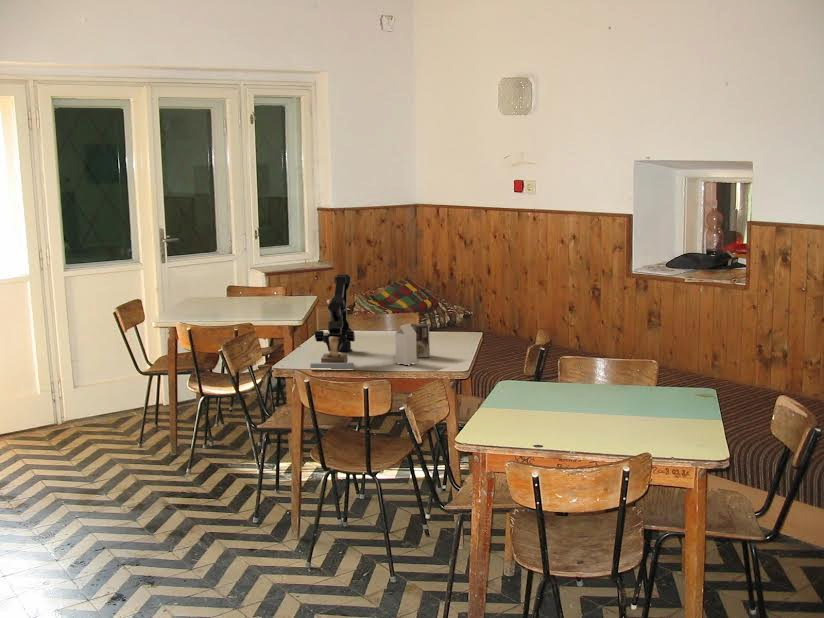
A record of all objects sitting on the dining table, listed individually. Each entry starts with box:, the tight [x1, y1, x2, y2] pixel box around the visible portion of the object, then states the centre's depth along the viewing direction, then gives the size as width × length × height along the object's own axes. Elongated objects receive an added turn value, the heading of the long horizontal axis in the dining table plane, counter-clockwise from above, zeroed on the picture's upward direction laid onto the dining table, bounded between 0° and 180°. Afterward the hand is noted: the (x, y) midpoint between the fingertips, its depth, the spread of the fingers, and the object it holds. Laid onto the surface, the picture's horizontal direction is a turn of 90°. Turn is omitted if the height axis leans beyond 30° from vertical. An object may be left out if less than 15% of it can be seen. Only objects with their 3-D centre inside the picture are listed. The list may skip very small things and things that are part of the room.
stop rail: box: [309, 362, 355, 370], centre depth 445 cm, size 2×20×4 cm, turn 87°
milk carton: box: [394, 323, 418, 366], centre depth 454 cm, size 7×7×19 cm
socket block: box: [320, 352, 349, 363], centre depth 453 cm, size 11×11×5 cm
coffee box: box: [410, 323, 431, 358], centre depth 470 cm, size 9×6×16 cm
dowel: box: [329, 336, 339, 357], centre depth 451 cm, size 4×4×13 cm
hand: (333, 351), depth 450 cm, fingers closed on dowel, 4 cm apart
